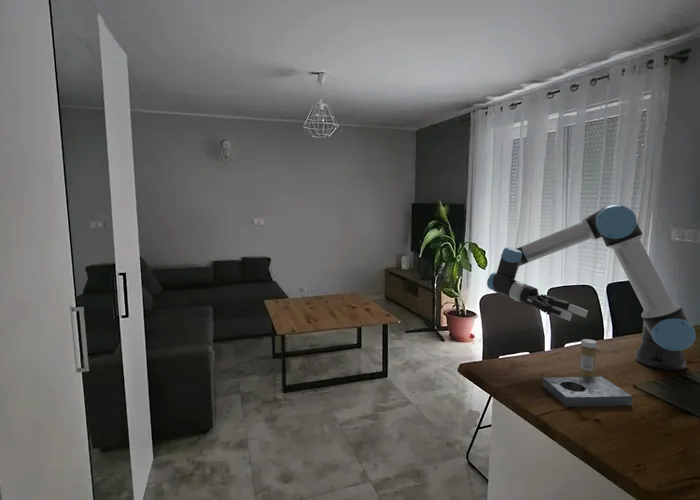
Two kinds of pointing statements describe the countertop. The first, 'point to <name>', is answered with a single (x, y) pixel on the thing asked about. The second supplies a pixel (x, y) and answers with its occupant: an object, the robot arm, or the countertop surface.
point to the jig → (586, 391)
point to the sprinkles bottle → (588, 358)
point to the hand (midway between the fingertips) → (579, 315)
